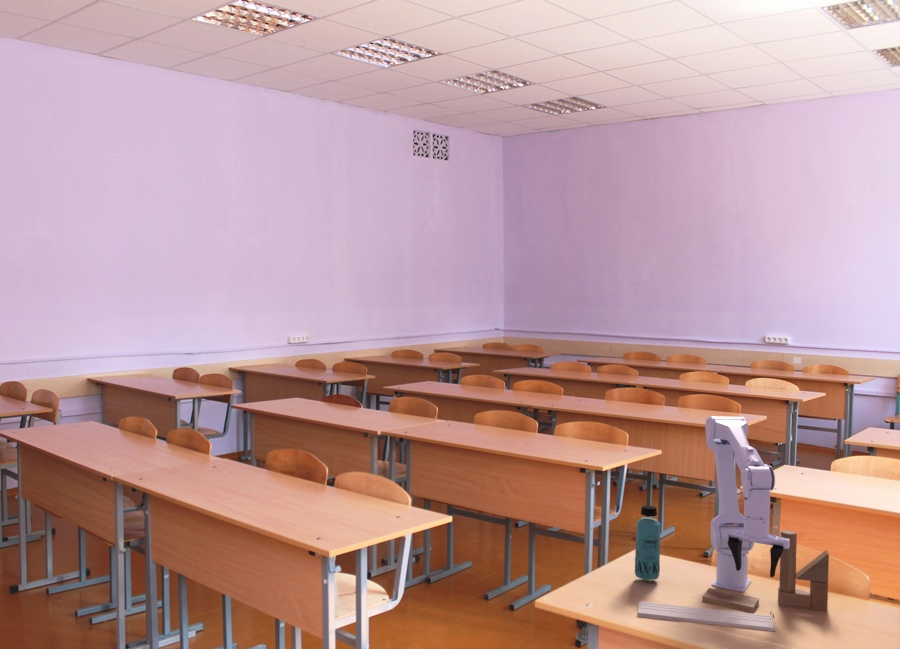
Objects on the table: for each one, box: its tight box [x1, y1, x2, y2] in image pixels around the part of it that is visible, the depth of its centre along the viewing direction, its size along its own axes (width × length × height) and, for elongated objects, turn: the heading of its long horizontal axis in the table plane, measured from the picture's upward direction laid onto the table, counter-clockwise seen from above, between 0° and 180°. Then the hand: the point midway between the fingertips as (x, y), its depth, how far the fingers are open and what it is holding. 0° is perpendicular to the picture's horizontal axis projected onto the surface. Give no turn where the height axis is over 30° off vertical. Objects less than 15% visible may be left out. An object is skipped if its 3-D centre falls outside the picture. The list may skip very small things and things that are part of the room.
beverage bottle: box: [634, 504, 662, 581], centre depth 205 cm, size 6×7×20 cm
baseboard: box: [637, 600, 777, 632], centre depth 183 cm, size 30×3×10 cm
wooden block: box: [777, 529, 830, 613], centre depth 189 cm, size 4×11×18 cm, turn 71°
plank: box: [702, 587, 760, 613], centre depth 191 cm, size 6×12×2 cm, turn 57°
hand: (755, 572), depth 186 cm, fingers open, 7 cm apart
